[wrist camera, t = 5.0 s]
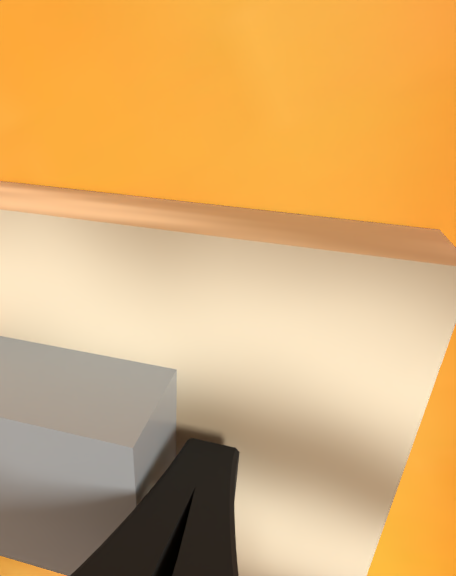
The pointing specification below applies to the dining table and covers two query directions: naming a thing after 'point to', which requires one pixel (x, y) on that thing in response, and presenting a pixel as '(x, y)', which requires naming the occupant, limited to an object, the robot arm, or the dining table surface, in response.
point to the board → (251, 345)
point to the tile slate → (77, 448)
